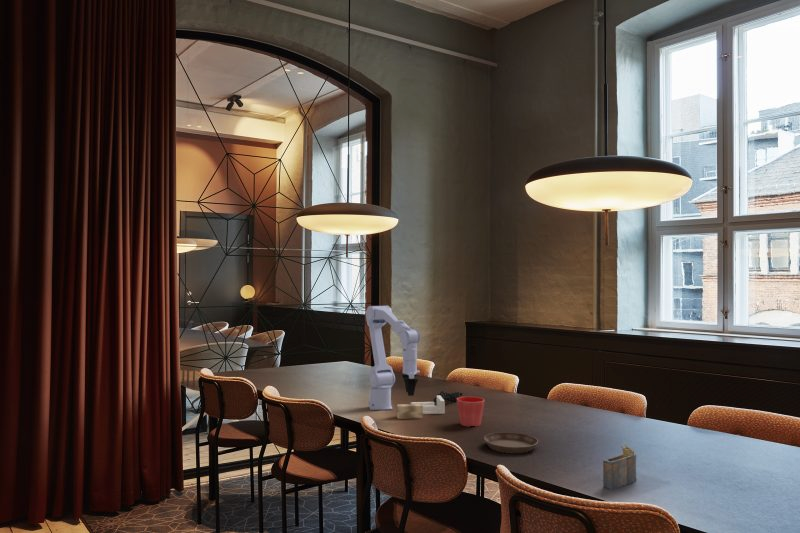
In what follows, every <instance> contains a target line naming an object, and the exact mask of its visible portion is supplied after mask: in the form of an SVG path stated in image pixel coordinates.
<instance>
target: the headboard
mask: <svg viewBox="0 0 800 533" xmlns="http://www.w3.org/2000/svg"><path fill="white" fill-rule="evenodd" d="M436 395H437V394H436ZM436 401H437V403H436V404H437V405H434V402H433V401H417V402H416V401H413V402H410V404H422V406H423V415H438V414H439V415H440V414H441V415H442V414H446V410H445V409H446V405H445V404H446V402H445V401H444V399H443V398H442V397H441V396H440V395H437V399H436Z"/></svg>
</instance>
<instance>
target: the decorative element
mask: <svg viewBox="0 0 800 533" xmlns="http://www.w3.org/2000/svg"><path fill="white" fill-rule="evenodd" d="M437 395H440V396H441V397H442V398H443V399H444V401H445V403H446V402H450V403H455V402H456V403H457V398H459V397H463V392H459V391H455V392H450V393H449V392H446V391H445V392H444V391H440V392H439V393H437V394H436V396H435V397H433V401H432V402H434V405H437Z"/></svg>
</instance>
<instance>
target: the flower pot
mask: <svg viewBox="0 0 800 533" xmlns="http://www.w3.org/2000/svg"><path fill="white" fill-rule="evenodd" d="M456 399H457V401H456V404H457V412H458V418H459V423H460V425H461V426H462V427H463V426H464V427H470V426H475V427H479V426H481V424H482V418H483V413H484V407H485V399H484V398H483V397H478V396H460V397H459V398H456Z"/></svg>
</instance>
